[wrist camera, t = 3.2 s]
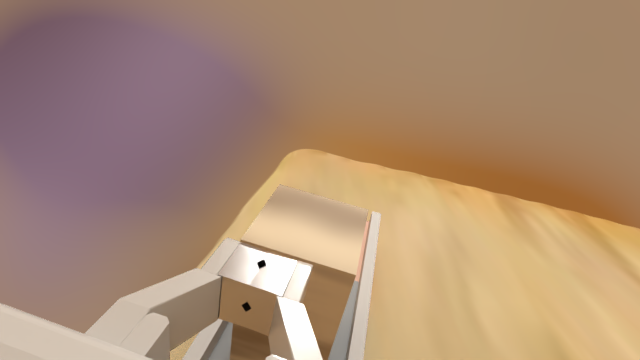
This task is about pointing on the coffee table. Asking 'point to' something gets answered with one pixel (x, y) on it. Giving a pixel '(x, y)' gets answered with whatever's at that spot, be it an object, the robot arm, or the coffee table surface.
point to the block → (308, 260)
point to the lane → (348, 348)
